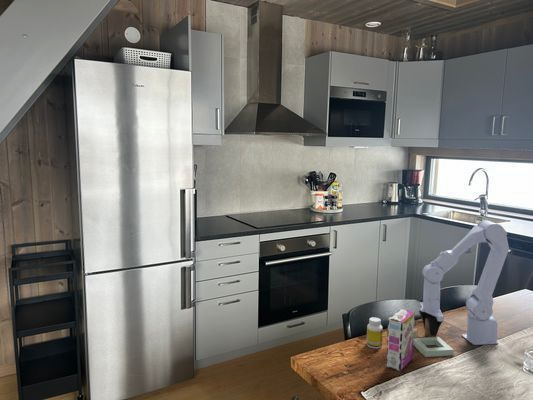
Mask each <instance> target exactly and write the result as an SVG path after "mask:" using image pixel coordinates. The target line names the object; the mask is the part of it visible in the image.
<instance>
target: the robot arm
mask: <svg viewBox="0 0 533 400" xmlns="http://www.w3.org/2000/svg"><path fill="white" fill-rule="evenodd" d="M507 235H508V232H507V230H506V229H505V228H504V227H503V225H501V224H498V223H495V222H494V221H493V222H492V221H491V220H487V219H484V220H480V221H479V222H478V223H477V225H474V226H473V227H472V229H470V230H469V232H468V233H467V234H466V235H464V237H463V238H461V240H460V241H459V242H457V244H456V245H455V246H453V248H452V249H449V250H444V251H441V252H440V253H439V255H438V256H437V257H436V259H434V260H432V261H431V262H430V263H429V264H426V265H425V266H424V267H423V268H422V270H421V274H422V276H423V277H424V278H423V294H422V295H423V296H422V297H423V298H422V299H423V300H422V301H420V302H419V311H418V312H419V315H420V317H421V320H422V325H423V329H424V330H425V318H427V320H428V322H429V327H430V335H431V336H436V337H437V335H438V332H439V330H440V326H441V325H442V323H444V320H445V315H443V314H442V311H441V309H440V307H441V305H440V304H441V282H442V281H443V278H444V275H445V274H447V272H448V271H450V270H451V269H452V268H454V266H455V265H457V264H458V262H459V257H460V256H461V255H463V254H464V253H466V252H467V251H468V250H469V249H471V247H473V246H474V245H475V244H479V243H487V244H488V247H490V250H489V253H488V256H487V258H486V262H485V263H484V267H483V270H482V273H481V275H480V277H479V280H478V284H477V286H476V288H474V289H473V290H472V291H471V294H470V295H469V296H468V297H467V298H466V299H465V305H466V307H467V309H468V312H467V317H466V322H467V323H466V333H462V334H461V336H462V337H463V338H464V339H465V340H466V341H468V342H469V343H471V344H472V345H473V346H474V345H475V346H481V345H482V346H483V345H495V344H499V342H498V321H497V320H496V318H495V317H494V316H493V312H494V311H493V306H494V298H493V294H494V291H495V288H496V285H497V283H498V280H499V277H500V275H501V272H502V270H503V266H504V264H505V260H506V259H507V256H508V253H509V249H510V247H509V242H508V237H507Z"/></svg>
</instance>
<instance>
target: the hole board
mask: <svg viewBox="0 0 533 400" xmlns="http://www.w3.org/2000/svg"><path fill="white" fill-rule="evenodd" d="M427 346H437V347H427ZM413 347H415V348H416V349H417V350H418V351H419V352H420V353H421V354H422V356H424V357H425V358H427V357H429V358H430V357H445V356H446V357H447V356H449V357H450V356H454V351H455V349H453V348H452V347H451V346H450V345H449V344H448V343H447V342H446V341H444V340H443V339H442V338H441V337H439V336H436V337H426V338H425V337H418V338H413Z"/></svg>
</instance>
